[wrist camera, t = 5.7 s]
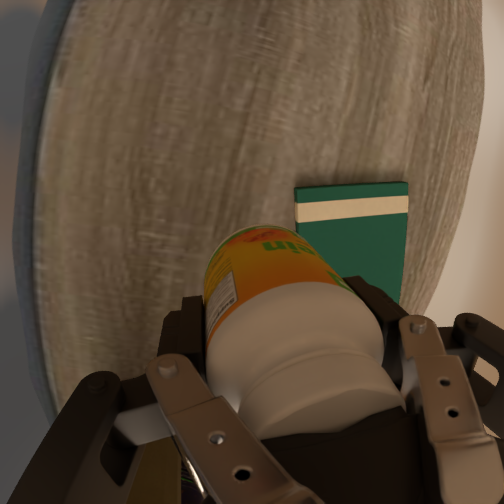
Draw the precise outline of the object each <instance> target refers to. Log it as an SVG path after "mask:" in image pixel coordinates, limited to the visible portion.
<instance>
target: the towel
mask: <svg viewBox="0 0 504 504" xmlns="http://www.w3.org/2000/svg"><path fill="white" fill-rule="evenodd" d="M294 195H295V220H296V233H297V234H299V235H300V236H301V237H303V238H304V239H305V240H306V241H307V242H308V243H309V244H310V245H311V246H312V247H313V248H314V249H315V250H316V251H317V253H318V254H319V255H320V256H321V257H322V258H323V259H324V260H325V261H326V262H327V263H328V264H329V266H330V267H331V268H332V269H333V270H334V271H335V272H336V273H337V274H338V275H339V276H340V277H341V278H343V277H350V276H357V275H359V276H361V277H362V278H363V279H364V280H365V281H366V282H367V283H368V284H369V285H373V286H376V287H378V288H380V289H382V290H383V291H384V292H385V293H387V294H388V295H389V297H391V298H392V299H393V300H394V302H396V303H397V304H398V305H399V299H400V291H401V283H402V275H403V266H404V255H405V244H406V230H407V212H408V183H407V182H377V183H356V184H339V185H323V186H309V187H297V188H294Z"/></svg>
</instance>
